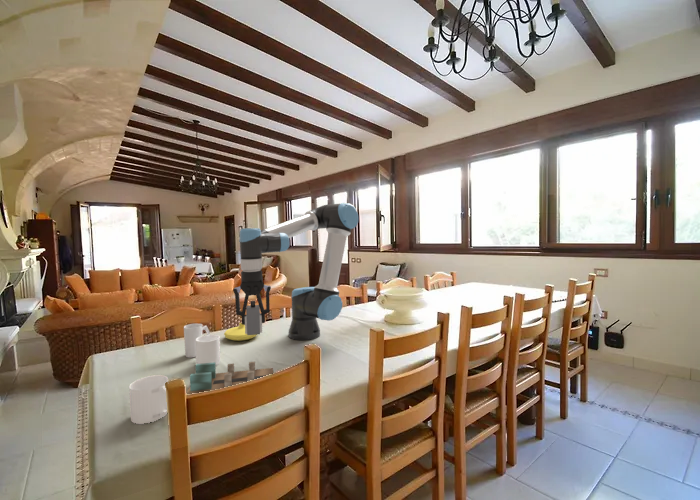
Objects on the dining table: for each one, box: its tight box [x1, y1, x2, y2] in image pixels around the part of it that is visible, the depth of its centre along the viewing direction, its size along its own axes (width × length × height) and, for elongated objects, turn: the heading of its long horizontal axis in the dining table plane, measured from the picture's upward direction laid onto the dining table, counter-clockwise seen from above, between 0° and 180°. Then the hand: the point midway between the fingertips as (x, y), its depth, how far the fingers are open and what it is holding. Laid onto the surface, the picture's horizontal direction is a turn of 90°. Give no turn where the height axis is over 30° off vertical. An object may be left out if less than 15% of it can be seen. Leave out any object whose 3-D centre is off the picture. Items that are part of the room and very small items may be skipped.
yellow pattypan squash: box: [223, 322, 257, 342], centre depth 153 cm, size 16×16×7 cm
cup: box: [195, 334, 221, 367], centre depth 125 cm, size 8×12×10 cm
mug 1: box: [128, 374, 169, 425], centre depth 89 cm, size 12×9×9 cm
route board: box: [185, 361, 274, 394], centre depth 108 cm, size 26×14×6 cm, turn 104°
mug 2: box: [183, 323, 211, 359], centre depth 134 cm, size 10×7×12 cm, turn 139°
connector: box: [245, 300, 261, 336], centre depth 121 cm, size 4×4×12 cm
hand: (253, 331), depth 122 cm, fingers closed on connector, 4 cm apart
